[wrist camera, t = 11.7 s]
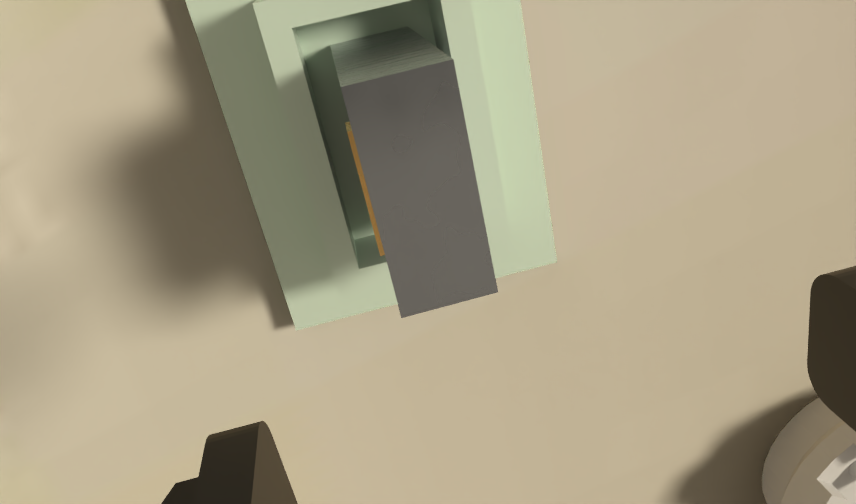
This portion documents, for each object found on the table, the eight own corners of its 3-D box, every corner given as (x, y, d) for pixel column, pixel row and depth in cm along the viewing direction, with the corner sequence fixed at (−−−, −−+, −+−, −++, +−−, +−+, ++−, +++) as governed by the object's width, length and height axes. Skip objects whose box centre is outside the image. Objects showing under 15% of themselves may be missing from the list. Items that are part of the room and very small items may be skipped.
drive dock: (169, -61, 24) (145, -64, 21) (494, -134, 25) (525, -149, 22) (296, 319, 31) (295, 367, 28) (550, 253, 32) (580, 291, 28)
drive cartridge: (326, 45, 26) (334, 88, 18) (407, 26, 26) (453, 59, 18) (371, 215, 29) (396, 319, 21) (443, 196, 29) (498, 291, 21)
